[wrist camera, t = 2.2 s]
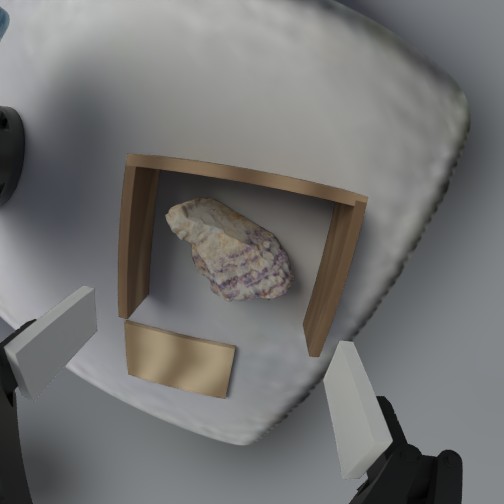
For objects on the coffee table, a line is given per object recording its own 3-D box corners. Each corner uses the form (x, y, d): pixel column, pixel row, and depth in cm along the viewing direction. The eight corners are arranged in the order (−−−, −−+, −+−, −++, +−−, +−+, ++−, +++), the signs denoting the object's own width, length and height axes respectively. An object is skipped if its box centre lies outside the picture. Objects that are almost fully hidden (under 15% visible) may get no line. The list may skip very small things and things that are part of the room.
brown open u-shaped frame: (140, 292, 31) (118, 316, 26) (153, 155, 27) (127, 153, 21) (311, 325, 32) (318, 357, 26) (347, 190, 27) (368, 197, 21)
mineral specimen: (163, 244, 30) (140, 263, 24) (194, 186, 28) (175, 191, 22) (264, 303, 31) (264, 334, 25) (301, 250, 29) (310, 272, 23)
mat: (129, 371, 35) (128, 374, 35) (126, 320, 33) (124, 322, 32) (225, 395, 35) (225, 398, 35) (235, 346, 33) (235, 348, 32)
